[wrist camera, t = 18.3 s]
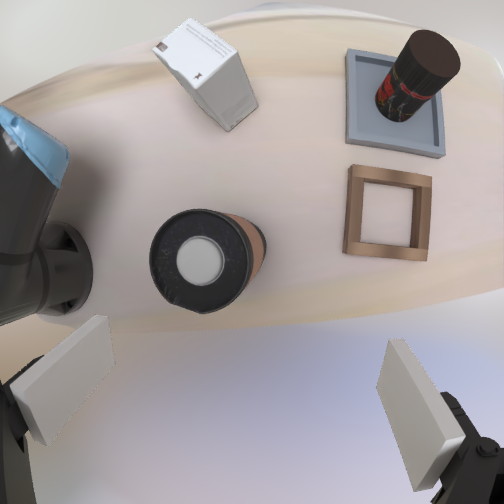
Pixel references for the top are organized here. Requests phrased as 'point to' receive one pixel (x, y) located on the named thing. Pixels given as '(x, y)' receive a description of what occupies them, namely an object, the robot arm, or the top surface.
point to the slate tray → (375, 124)
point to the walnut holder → (419, 213)
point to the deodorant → (417, 75)
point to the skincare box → (208, 72)
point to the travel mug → (205, 258)
